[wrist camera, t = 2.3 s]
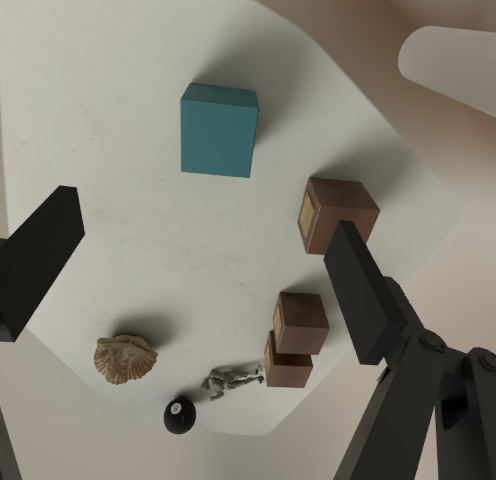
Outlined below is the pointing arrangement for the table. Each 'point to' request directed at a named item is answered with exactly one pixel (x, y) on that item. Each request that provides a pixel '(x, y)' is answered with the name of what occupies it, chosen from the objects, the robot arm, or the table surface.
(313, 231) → the walnut block
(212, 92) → the teal block
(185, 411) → the billiard ball
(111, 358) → the seashell
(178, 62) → the table surface
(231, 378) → the figurine
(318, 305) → the walnut block
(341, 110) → the table surface
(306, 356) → the walnut block
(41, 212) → the robot arm
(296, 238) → the table surface
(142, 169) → the table surface
